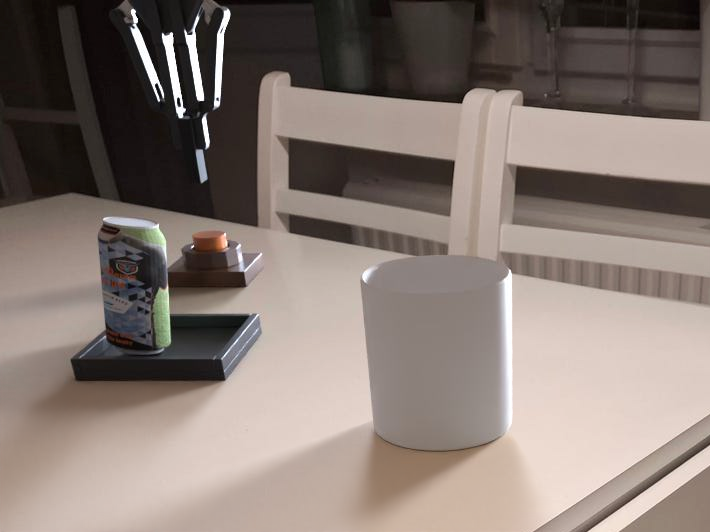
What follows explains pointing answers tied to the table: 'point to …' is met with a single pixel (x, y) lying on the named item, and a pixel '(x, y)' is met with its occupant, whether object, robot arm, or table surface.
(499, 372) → the white cylinder
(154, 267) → the beverage can
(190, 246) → the block
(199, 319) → the tray
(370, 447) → the table surface
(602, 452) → the table surface
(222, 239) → the button
